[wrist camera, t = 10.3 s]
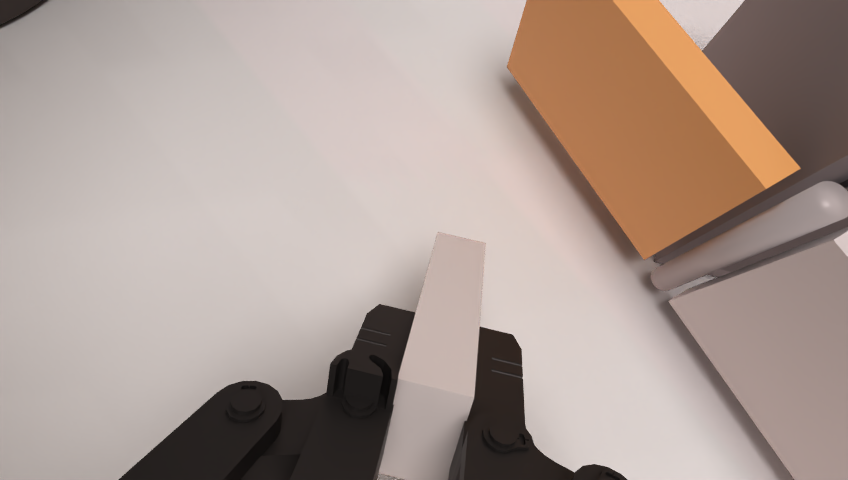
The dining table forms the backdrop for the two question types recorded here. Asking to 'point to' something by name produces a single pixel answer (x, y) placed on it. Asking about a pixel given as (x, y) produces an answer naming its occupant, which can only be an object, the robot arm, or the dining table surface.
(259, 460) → the robot arm
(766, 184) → the side door
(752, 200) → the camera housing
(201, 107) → the dining table surface
